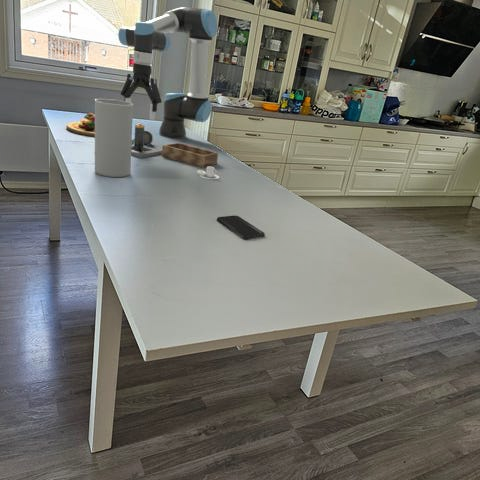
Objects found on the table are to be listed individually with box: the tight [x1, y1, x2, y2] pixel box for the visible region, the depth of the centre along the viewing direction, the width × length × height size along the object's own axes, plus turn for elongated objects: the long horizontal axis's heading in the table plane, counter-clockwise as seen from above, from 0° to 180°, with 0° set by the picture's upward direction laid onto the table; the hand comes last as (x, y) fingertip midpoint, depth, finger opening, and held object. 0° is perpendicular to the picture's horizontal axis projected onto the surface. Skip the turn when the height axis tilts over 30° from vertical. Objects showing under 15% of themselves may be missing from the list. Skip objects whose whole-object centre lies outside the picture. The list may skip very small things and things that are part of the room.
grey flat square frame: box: [131, 143, 162, 159], centre depth 184 cm, size 15×15×2 cm
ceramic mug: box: [132, 128, 154, 147], centre depth 199 cm, size 10×8×7 cm
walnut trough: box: [161, 142, 219, 168], centre depth 183 cm, size 22×12×5 cm, turn 62°
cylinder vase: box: [94, 98, 134, 178], centre depth 144 cm, size 12×12×25 cm
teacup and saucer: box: [197, 165, 220, 180], centre depth 164 cm, size 9×8×4 cm
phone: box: [216, 214, 266, 241], centre depth 118 cm, size 8×1×15 cm
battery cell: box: [133, 122, 145, 152], centre depth 181 cm, size 4×4×13 cm
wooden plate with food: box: [66, 112, 95, 138], centre depth 212 cm, size 32×32×8 cm
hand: (139, 116), depth 177 cm, fingers open, 13 cm apart
